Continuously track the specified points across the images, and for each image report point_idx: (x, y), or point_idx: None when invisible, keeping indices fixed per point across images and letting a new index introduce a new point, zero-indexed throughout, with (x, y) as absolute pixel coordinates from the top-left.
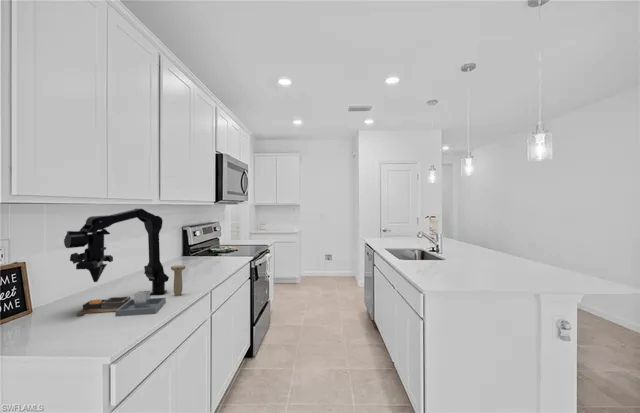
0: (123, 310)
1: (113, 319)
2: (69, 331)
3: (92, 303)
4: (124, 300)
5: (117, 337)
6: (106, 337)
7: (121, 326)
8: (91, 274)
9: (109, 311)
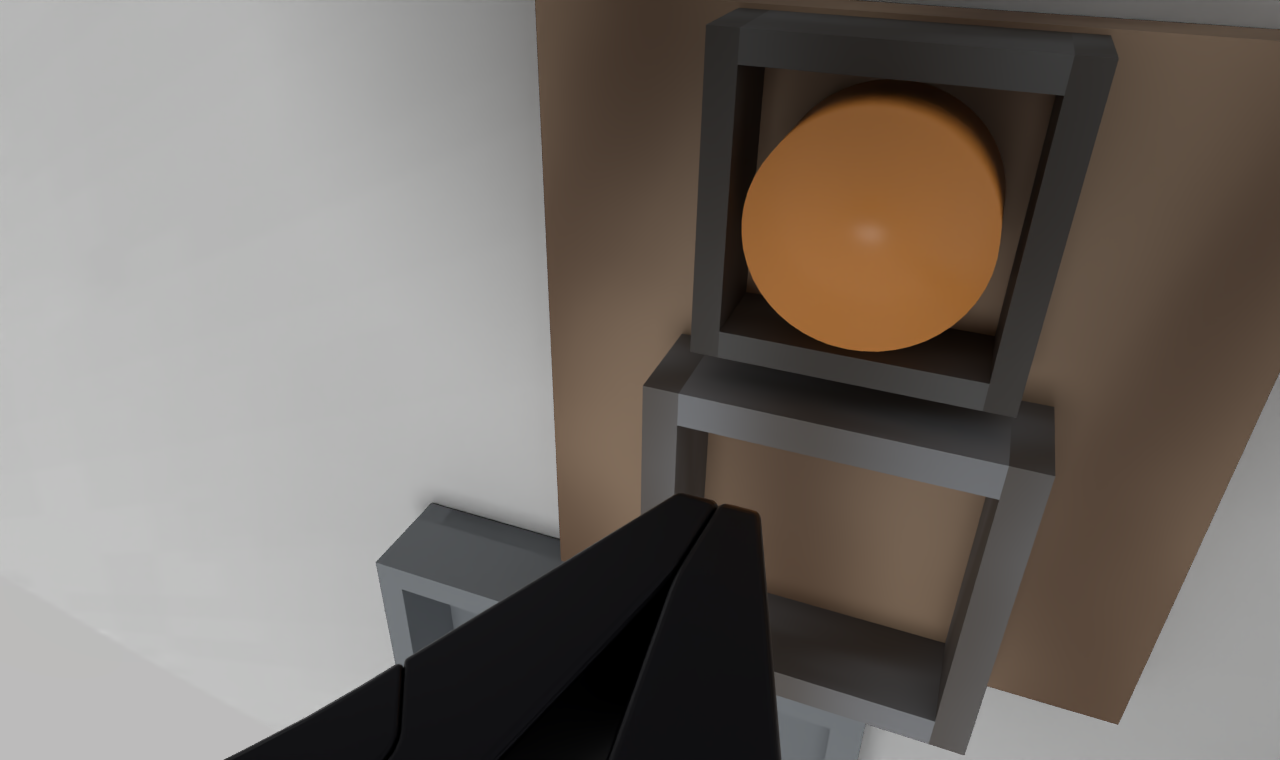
0: (389, 626)
1: (400, 488)
2: (90, 151)
3: (749, 207)
4: None
5: (75, 540)
6: (60, 479)
7: (242, 556)
8: (370, 704)
9: (558, 453)
